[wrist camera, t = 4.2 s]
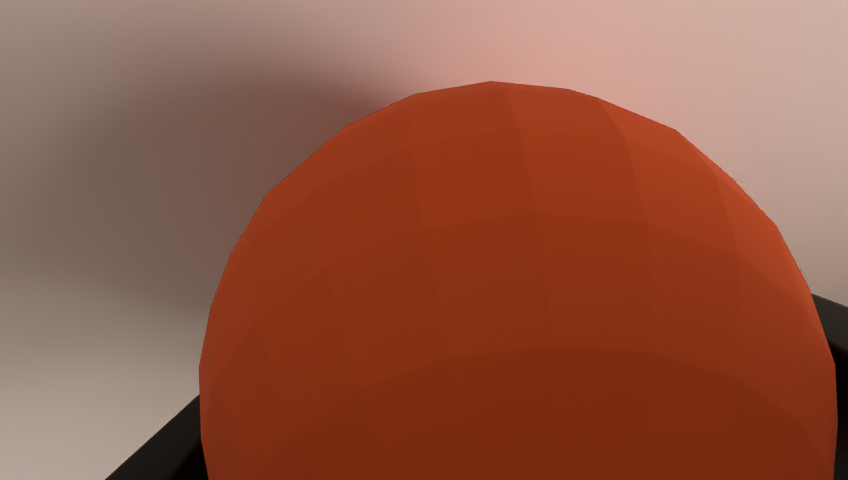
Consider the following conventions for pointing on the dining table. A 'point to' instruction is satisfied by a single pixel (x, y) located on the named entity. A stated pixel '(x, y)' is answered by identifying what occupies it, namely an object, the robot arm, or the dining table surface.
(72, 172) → the dining table surface
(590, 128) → the clementine
